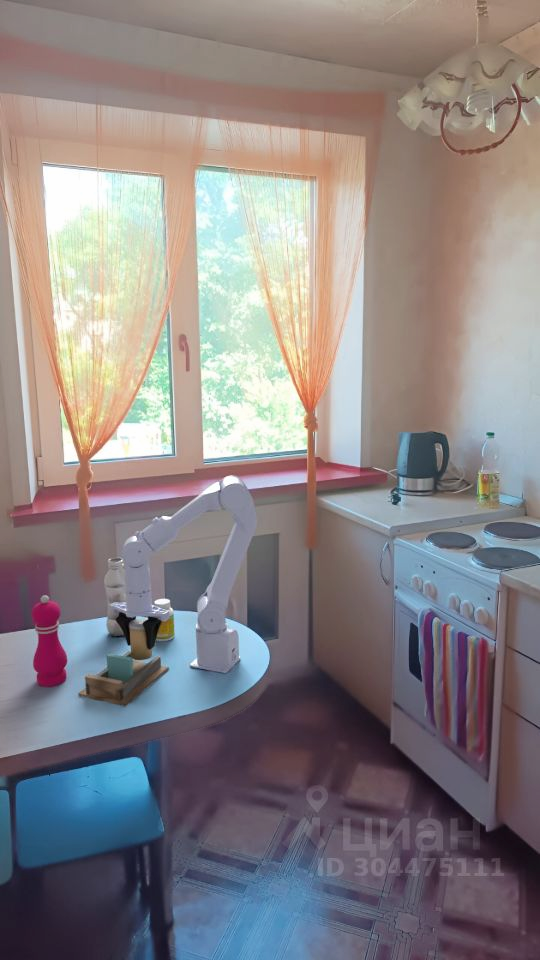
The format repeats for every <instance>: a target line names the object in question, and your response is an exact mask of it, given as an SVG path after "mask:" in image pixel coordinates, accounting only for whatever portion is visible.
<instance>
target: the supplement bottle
mask: <svg viewBox="0 0 540 960" xmlns="http://www.w3.org/2000/svg"><path fill="white" fill-rule="evenodd" d="M154 606H156V607H159V608H161V609H164V610H168V611H169V619H168V620H167V621H165V622H163V621H162V623H161V625H160V628H159V630H158V633H157V637H156V641H157V642H167V641H168V642H169V641H170V640H173V639H174V638H175V635H176V634H175V616H174V609H173V608H172V607H171V600H170V599H168V598H158V599H156V600H155V601H154Z"/></svg>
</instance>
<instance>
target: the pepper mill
mask: <svg viewBox="0 0 540 960" xmlns="http://www.w3.org/2000/svg"><path fill="white" fill-rule="evenodd" d="M60 617H61V608H60V606H59V604H58V603H56V602H55V601H53V600H50V597H49V596H48V595H46V594H45V595H42V596H40V602H38V603H36V604H35V605H34V606H33V607H32V610H31V618H32V619H31V620H32V622H34V624H35V625H34V627H35V632H36V634H37V641H38V642H37V646H36V650H35V653H34V656H33V661H32V665H33V667H32V668H33V670H34V671H35V672H37V674H36V683H37V685H38V686H40V687H43V688H49V687H50V688H51V687H56V686H58V685H61V684H62V683H64V682H65V681H66V680H67V670H66V669H65V668H66V666H67V664H68V656H67V652H66V651H65V649H64V647H63V645H62V643H61V642H60V639H59V636H58V635H59V633H58V630H59V629H60V625H59V624H60V622H59V621H58V620H59V619H60Z"/></svg>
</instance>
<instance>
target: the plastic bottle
mask: <svg viewBox="0 0 540 960" xmlns="http://www.w3.org/2000/svg"><path fill="white" fill-rule="evenodd" d="M107 563H108V564H107V567H108V571H107V572H106V574H105V576H104V578H103V579H104V580H103V582H104V583H103V584H104V589H105V594H106V600H107V617H106V629H107V632H108V633H109V634H110V635H111V636H118V637H119V636H124V633H123V631H122V629H121V628H120V626H119V625H118V623H117V622H116V618H117V617H118V615H119V613H111V612H110V605H111V604H113V603H115V602H117V603H126V595H125V579H124V570H125V568H124V560H123V558H121V557H112V558H109V559H108V561H107Z"/></svg>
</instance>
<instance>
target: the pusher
mask: <svg viewBox="0 0 540 960" xmlns="http://www.w3.org/2000/svg"><path fill="white" fill-rule="evenodd" d="M133 660H134V659H132V658H131V657H126V656H123V655H120V654H115V653H108V654H106V665H107V667H106V668H107V669H108V678H110V679H115V680H120V681H123V683H124V682H126V681H127V680H128V679H129V678H130V677H132V676H133Z"/></svg>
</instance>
